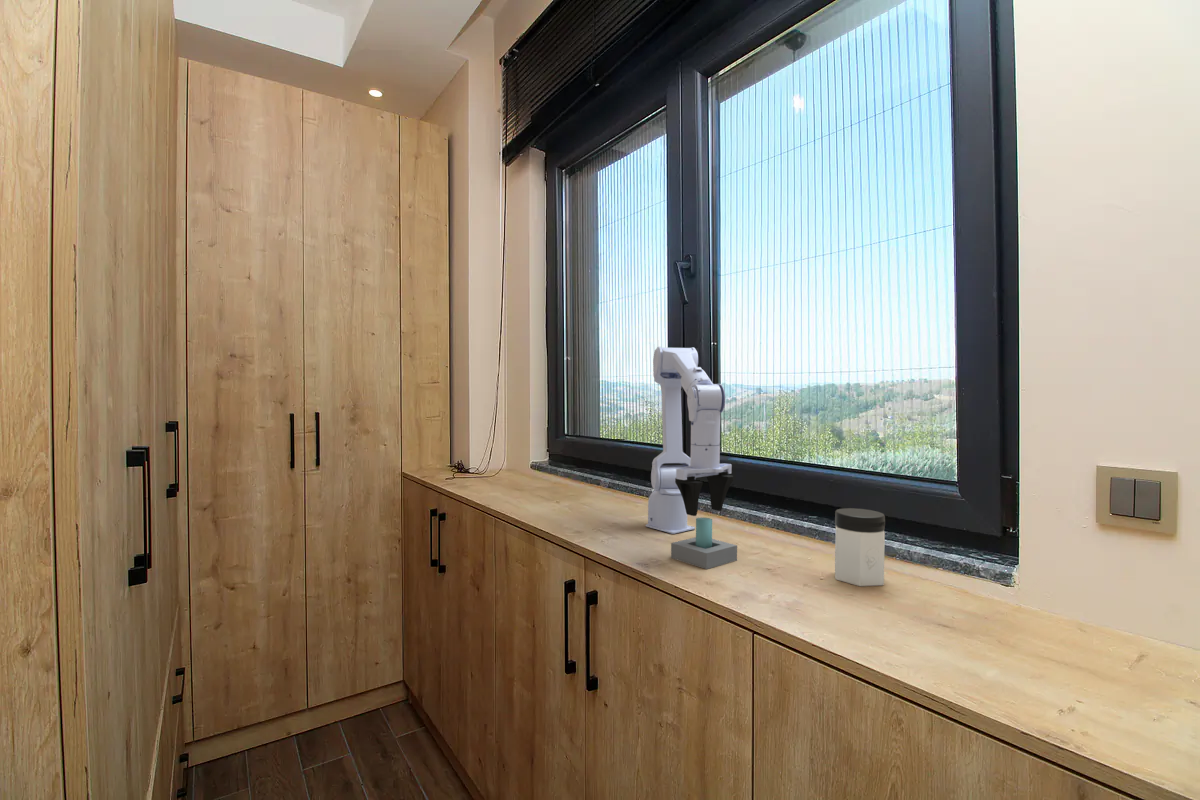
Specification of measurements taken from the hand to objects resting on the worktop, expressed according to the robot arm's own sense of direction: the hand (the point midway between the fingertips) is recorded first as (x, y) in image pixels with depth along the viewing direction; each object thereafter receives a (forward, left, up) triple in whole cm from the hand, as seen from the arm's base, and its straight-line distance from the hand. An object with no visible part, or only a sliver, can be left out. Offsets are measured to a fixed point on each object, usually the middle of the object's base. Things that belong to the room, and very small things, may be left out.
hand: (704, 512), depth 113 cm
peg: (0, 0, -9) cm, 9 cm away
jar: (+25, +13, -10) cm, 30 cm away
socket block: (0, 0, -9) cm, 9 cm away
